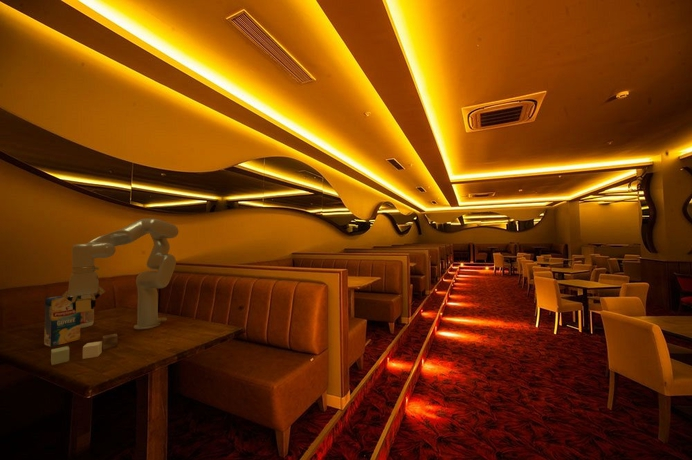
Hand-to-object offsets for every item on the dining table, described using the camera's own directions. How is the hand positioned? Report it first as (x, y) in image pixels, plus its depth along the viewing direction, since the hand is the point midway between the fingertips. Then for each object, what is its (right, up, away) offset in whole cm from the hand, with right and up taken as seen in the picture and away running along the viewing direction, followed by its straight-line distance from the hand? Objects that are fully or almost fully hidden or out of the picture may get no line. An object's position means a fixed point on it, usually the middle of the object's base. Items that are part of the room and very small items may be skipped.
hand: (84, 309), depth 131 cm
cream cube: (+12, -18, -9) cm, 23 cm away
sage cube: (+4, -18, -15) cm, 23 cm away
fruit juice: (-31, -19, +32) cm, 48 cm away
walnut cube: (+11, -18, +1) cm, 21 cm away
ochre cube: (0, -1, 0) cm, 1 cm away
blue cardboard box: (-17, -18, +7) cm, 26 cm away
